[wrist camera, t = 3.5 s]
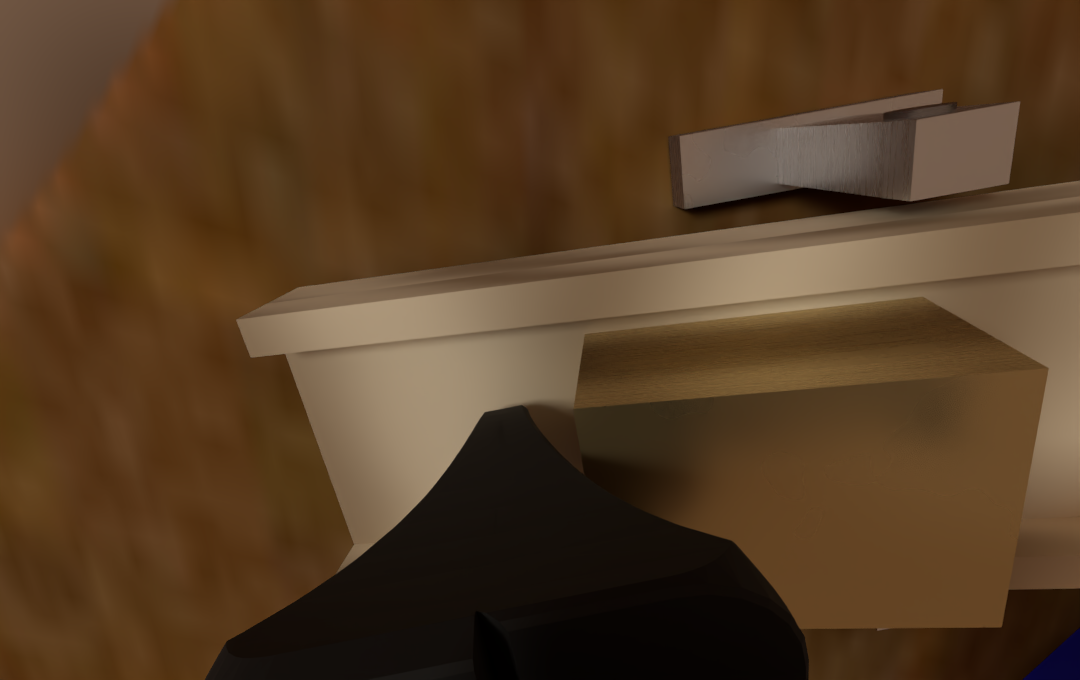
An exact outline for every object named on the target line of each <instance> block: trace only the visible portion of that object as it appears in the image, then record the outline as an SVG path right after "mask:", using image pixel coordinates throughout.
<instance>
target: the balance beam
mask: <svg viewBox="0 0 1080 680" xmlns="http://www.w3.org/2000/svg"><path fill="white" fill-rule="evenodd" d="M915 297H924V298H926V299H928V300H929V301H931V302H933V303H935V304H936V305H938V306H940V307H942V308H944V309H945V310H947V311H949V312H951V313H952V314H954V315H956V316H958V317H959V318H961V319H963V320H965V321H966V322H968V323H970V324H972V325H974V326H975V327H977V328H979V329H981V330H982V331H984V332H986V333H988V334H989V335H991V336H993V337H995V338H996V339H998V340H1000V341H1002V342H1003V343H1005V344H1007V345H1009V346H1011V347H1012V348H1014V349H1016V350H1018V351H1019V352H1021V353H1023V354H1025V355H1026V356H1028V357H1030V358H1032V359H1033V360H1035V361H1037V362H1039V363H1040V364H1042V365H1044V366H1046V367H1048V368H1049V370H1048V376H1047V381H1046V387H1045V392H1044V398H1043V403H1042V409H1041V414H1040V420H1039V425H1038V431H1037V436H1036V442H1035V447H1034V453H1033V458H1032V464H1031V469H1030V475H1029V480H1028V486H1027V491H1026V497H1025V502H1024V508H1023V513H1022V519H1021V524H1020V530H1019V535H1018V541H1017V546H1016V552H1015V557H1014V563H1013V568H1012V574H1011V579H1010V585H1009V590H1017V589H1075V588H1080V181H1075V182H1067V183H1060V184H1053V185H1045V186H1038V187H1031V188H1023V189H1016V190H1009V191H1001V192H994V193H987V194H979V195H972V196H965V197H957V198H950V199H943V200H935V201H928V202H921V203H913V204H906V205H899V206H891V207H884V208H877V209H870V210H862V211H855V212H848V213H840V214H833V215H826V216H818V217H811V218H804V219H796V220H789V221H782V222H774V223H767V224H760V225H752V226H745V227H738V228H730V229H723V230H716V231H708V232H701V233H694V234H686V235H679V236H672V237H665V238H657V239H650V240H643V241H635V242H628V243H621V244H613V245H606V246H599V247H591V248H584V249H577V250H569V251H562V252H555V253H547V254H540V255H533V256H525V257H518V258H511V259H503V260H496V261H489V262H481V263H474V264H467V265H459V266H452V267H445V268H438V269H430V270H423V271H416V272H408V273H401V274H394V275H386V276H379V277H372V278H364V279H357V280H350V281H342V282H335V283H328V284H320V285H313V286H306V287H298V288H297V289H295V290H293V291H291V292H289V293H287V294H285V295H283V296H281V297H279V298H277V299H275V300H273V301H271V302H269V303H267V304H266V305H264V306H262V307H260V308H258V309H256V310H254V311H252V312H250V313H248V314H246V315H244V316H242V317H240V318H238V319H236V321H237V323H238V326H239V328H240V331H241V334H242V336H243V339H244V341H245V344H246V347H247V349H248V352H249V354H250V357H260V356H269V355H278V354H286V357H287V360H288V362H289V365H290V368H291V371H292V373H293V376H294V379H295V382H296V385H297V387H298V390H299V393H300V396H301V398H302V401H303V404H304V407H305V409H306V412H307V415H308V418H309V420H310V423H311V426H312V429H313V432H314V434H315V437H316V440H317V443H318V445H319V448H320V451H321V454H322V456H323V459H324V462H325V465H326V468H327V470H328V473H329V476H330V479H331V481H332V484H333V487H334V490H335V492H336V495H337V498H338V501H339V504H340V506H341V509H342V512H343V515H344V517H345V520H346V523H347V526H348V528H349V531H350V534H351V537H352V539H353V542H354V546H353V547H352V549H351V551H350V552H349V554H348V555H347V557H346V559H345V560H344V562H343V563H342V565H341V567H340V568H339V570H338V571H337V573H338V572H340V571H341V570H342V569H344V568H345V567H346V566H348V565H349V564H350V563H352V562H353V561H354V560H356V559H357V558H358V557H360V556H361V555H362V554H363V553H364V552H366V551H367V550H368V549H369V548H370V547H371V546H373V545H374V544H375V543H376V542H377V541H379V540H380V539H381V538H382V537H383V536H384V535H386V534H387V533H388V532H389V531H390V530H392V529H393V528H394V527H395V526H396V525H397V524H398V523H399V522H400V521H401V520H402V519H403V518H404V517H405V516H406V515H407V514H408V513H409V512H410V511H411V510H412V509H413V508H414V507H415V506H416V505H417V504H418V503H419V502H420V501H421V500H422V499H423V498H424V497H425V496H426V495H427V493H428V492H429V491H430V490H431V489H432V488H433V486H434V485H435V484H436V483H437V481H438V480H439V479H440V477H441V476H442V475H443V474H444V472H445V471H446V470H447V468H448V467H449V466H450V464H451V463H452V461H453V460H454V458H455V457H456V455H457V454H458V452H459V451H460V450H461V448H462V447H463V445H464V444H465V442H466V440H467V439H468V437H469V436H470V434H471V432H472V431H473V429H474V427H475V426H476V424H477V422H478V421H479V419H480V418H481V416H482V415H483V414H484V412H488V411H493V410H498V409H504V408H509V407H514V406H519V405H523V406H524V407H526V408H527V409H528V411H529V414H530V416H531V418H532V419H533V421H534V423H535V424H536V426H537V427H538V428H539V430H540V431H541V432H542V434H543V435H544V436H545V437H546V438H547V439H548V441H549V442H550V443H551V444H552V445H553V446H554V447H555V448H556V450H557V451H558V452H559V453H560V454H561V455H562V456H563V457H564V458H566V459H567V460H568V461H569V462H570V463H571V464H572V465H573V466H574V467H575V468H577V469H578V470H579V471H580V472H581V473H583V474H584V470H583V464H582V458H581V452H580V446H579V440H578V434H577V428H576V422H575V416H574V410H573V408H574V402H575V395H576V388H577V382H578V375H579V369H580V362H581V355H582V349H583V342H584V336H585V334H590V333H599V332H608V331H617V330H626V329H635V328H644V327H653V326H662V325H671V324H680V323H689V322H698V321H708V320H717V319H726V318H735V317H744V316H753V315H762V314H771V313H780V312H789V311H798V310H807V309H816V308H825V307H834V306H843V305H852V304H861V303H870V302H879V301H888V300H897V299H906V298H915ZM337 573H336V574H337Z"/></svg>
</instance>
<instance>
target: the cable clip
mask: <svg viewBox="0 0 1080 680" xmlns="http://www.w3.org/2000/svg"><path fill="white" fill-rule="evenodd" d="M1023 680H1080V628H1079V629H1078V630H1077V631H1076V632H1075V633H1073V634H1072V635H1071V636H1070V637H1069V638H1068V639H1067V640H1066V641H1065V642H1064V643H1062V644H1061V645H1060V646H1059V647H1058V648H1057V649H1056V650H1055V651H1054V652H1053V653H1051V654H1050V655H1049V656H1048V657H1047V658H1046V659H1045V660H1044V661H1043V662H1042V663H1040V664H1039V665H1038V666H1037V667H1036V668H1035V669H1034V670H1033V671H1032V672H1031V673H1029V674H1028V675H1027V676H1026V677H1025V678H1024V679H1023Z"/></svg>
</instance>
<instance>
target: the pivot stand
mask: <svg viewBox="0 0 1080 680" xmlns="http://www.w3.org/2000/svg"><path fill="white" fill-rule="evenodd" d="M942 95H943V89H940V90H932V91H924V92H916V93H910V94H905V95H899V96H894V97H888V98H882V99H877V100H871V101H866V102H860V103H854V104H849V105H843V106H837V107H832V108H826V109H821V110H815V111H809V112H804V113H798V114H793V115H787V116H781V117H776V118H770V119H765V120H759V121H753V122H748V123H742V124H737V125H731V126H725V127H720V128H714V129H709V130H703V131H697V132H692V133H686V134H680V135H675V136H669V137H668V138H669V151H670V164H671V177H672V191H673V204H674V206H676V207H679V208H682V209H689V208H694V207H700V206H705V205H711V204H716V203H722V202H727V201H733V200H738V199H744V198H749V197H755V196H760V195H766V194H771V193H777V192H782V191H788V190H794V189H799V188H805V187H806V188H814V189H821V190H829V191H836V192H844V193H851V194H858V195H866V196H873V197H880V198H884V199H896V200H903V201H916V200H921V199H927V198H932V197H938V196H943V195H949V194H954V193H960V192H965V191H971V190H976V189H982V188H987V187H993V186H998V185H1003V184H1009V178H1010V171H1011V164H1012V157H1013V150H1014V142H1015V135H1016V128H1017V121H1018V114H1019V106H1020V101H1019V102H1007V103H995V104H983V105H971V106H959V107H957V102H950V103H942ZM875 629H876V630H877V631H879V630H884V629H889V628H875Z"/></svg>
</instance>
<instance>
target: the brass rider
mask: <svg viewBox="0 0 1080 680" xmlns="http://www.w3.org/2000/svg"><path fill="white" fill-rule="evenodd" d="M1048 370H1049V368H1048V367H1046V366H1044V365H1042V364H1040V363H1039V362H1037V361H1035V360H1033V359H1032V358H1030V357H1028V356H1026V355H1025V354H1023V353H1021V352H1019V351H1018V350H1016V349H1014V348H1012V347H1011V346H1009V345H1007V344H1005V343H1003V342H1002V341H1000V340H998V339H996V338H995V337H993V336H991V335H989V334H988V333H986V332H984V331H982V330H981V329H979V328H977V327H975V326H974V325H972V324H970V323H968V322H966V321H965V320H963V319H961V318H959V317H958V316H956V315H954V314H952V313H951V312H949V311H947V310H945V309H944V308H942V307H940V306H938V305H936V304H935V303H933V302H931V301H929V300H928V299H926V298H924V297H915V298H906V299H897V300H888V301H879V302H870V303H861V304H852V305H843V306H834V307H825V308H816V309H807V310H798V311H789V312H780V313H771V314H762V315H753V316H744V317H735V318H726V319H717V320H708V321H698V322H689V323H680V324H671V325H662V326H653V327H644V328H635V329H626V330H617V331H608V332H599V333H590V334H585V336H584V342H583V349H582V355H581V362H580V369H579V375H578V382H577V388H576V395H575V402H574V408H573V410H574V416H575V422H576V428H577V434H578V440H579V446H580V452H581V458H582V464H583V470H584V475H585V476H586V477H588V478H589V479H590V480H592V481H593V482H594V483H596V484H597V485H599V486H600V487H601V488H603V489H604V490H606V491H608V492H609V493H611V494H612V495H614V496H616V497H618V498H620V499H621V500H623V501H625V502H627V503H629V504H631V505H633V506H635V507H637V508H639V509H641V510H643V511H645V512H647V513H650V514H652V515H655V516H657V517H660V518H662V519H665V520H667V521H670V522H672V523H675V524H678V525H680V526H684V527H687V528H690V529H694V530H697V531H701V532H704V533H708V534H711V535H714V536H718V537H721V538H725V539H728V540H731V541H733V542H734V543H735V544H736V545H737V546H738V547H739V548H740V549H741V550H742V551H743V553H744V554H745V555H746V556H747V557H748V558H749V559H750V561H751V562H752V563H753V564H754V565H755V566H756V567H757V569H758V570H759V571H760V572H761V573H762V575H763V576H764V577H765V578H766V579H767V581H768V582H769V583H770V584H771V585H772V587H773V588H774V589H775V590H776V592H777V593H778V595H779V596H780V597H781V599H782V600H783V602H784V603H785V604H786V606H787V607H788V609H789V611H790V612H791V614H792V616H793V617H794V619H795V621H796V623H797V625H798V627H799V628H800V629H856V628H977V627H1002V623H1003V618H1004V612H1005V607H1006V601H1007V596H1008V590H1009V585H1010V579H1011V574H1012V568H1013V563H1014V557H1015V552H1016V546H1017V541H1018V535H1019V530H1020V524H1021V519H1022V513H1023V508H1024V502H1025V497H1026V491H1027V486H1028V480H1029V475H1030V469H1031V464H1032V458H1033V453H1034V447H1035V442H1036V436H1037V431H1038V425H1039V420H1040V414H1041V409H1042V403H1043V398H1044V392H1045V387H1046V381H1047V376H1048Z"/></svg>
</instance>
